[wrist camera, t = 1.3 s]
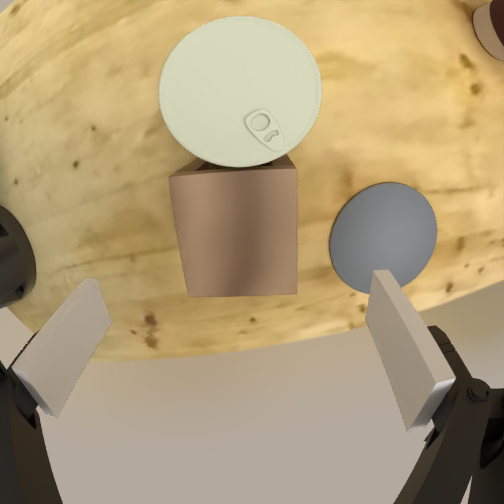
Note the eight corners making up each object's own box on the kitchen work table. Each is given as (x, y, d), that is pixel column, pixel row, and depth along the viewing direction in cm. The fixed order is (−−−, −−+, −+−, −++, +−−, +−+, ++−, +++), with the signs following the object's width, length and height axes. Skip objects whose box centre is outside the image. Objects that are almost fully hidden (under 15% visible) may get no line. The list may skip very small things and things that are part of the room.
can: (235, 167, 27) (216, 201, 16) (179, 91, 24) (124, 77, 13) (317, 116, 25) (356, 115, 14) (261, 38, 22) (261, -14, 11)
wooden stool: (209, 243, 31) (188, 297, 22) (199, 156, 27) (168, 177, 18) (286, 239, 30) (296, 294, 21) (284, 151, 26) (296, 168, 17)
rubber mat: (326, 294, 33) (327, 297, 32) (331, 181, 27) (332, 182, 27) (423, 287, 32) (425, 289, 32) (441, 184, 27) (444, 186, 26)
